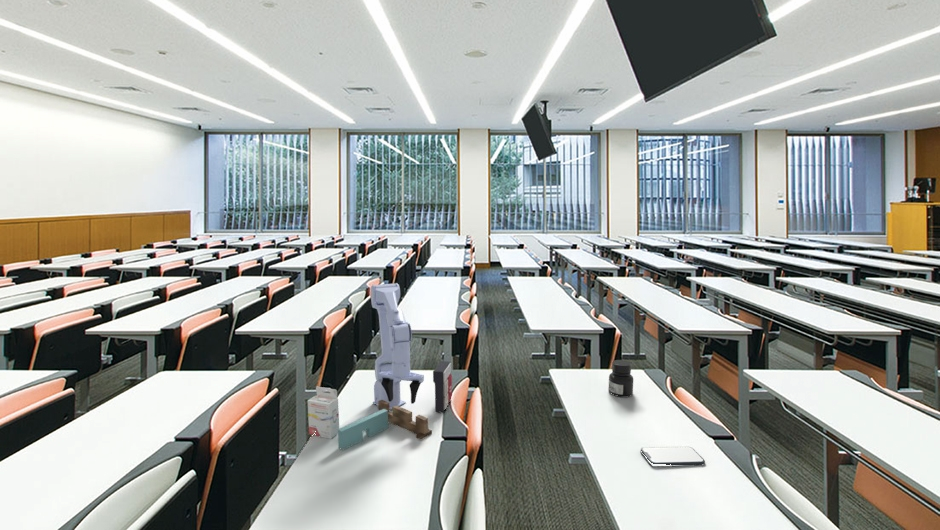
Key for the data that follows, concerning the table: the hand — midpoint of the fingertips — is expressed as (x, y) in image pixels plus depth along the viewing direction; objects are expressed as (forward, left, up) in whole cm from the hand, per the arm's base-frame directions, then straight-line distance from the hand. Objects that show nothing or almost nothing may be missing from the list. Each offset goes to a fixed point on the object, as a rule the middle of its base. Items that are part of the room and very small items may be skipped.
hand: (402, 401), depth 159 cm
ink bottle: (+44, +72, -10) cm, 85 cm away
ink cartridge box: (-17, -18, -10) cm, 27 cm away
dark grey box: (-1, +21, -10) cm, 23 cm away
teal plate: (-5, -11, -10) cm, 16 cm away
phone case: (+74, +37, -10) cm, 83 cm away
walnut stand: (-1, +1, -10) cm, 10 cm away
